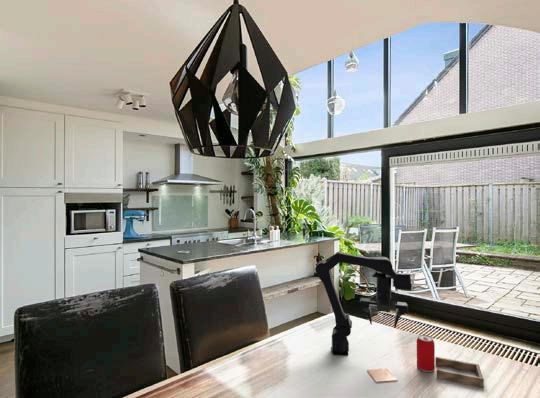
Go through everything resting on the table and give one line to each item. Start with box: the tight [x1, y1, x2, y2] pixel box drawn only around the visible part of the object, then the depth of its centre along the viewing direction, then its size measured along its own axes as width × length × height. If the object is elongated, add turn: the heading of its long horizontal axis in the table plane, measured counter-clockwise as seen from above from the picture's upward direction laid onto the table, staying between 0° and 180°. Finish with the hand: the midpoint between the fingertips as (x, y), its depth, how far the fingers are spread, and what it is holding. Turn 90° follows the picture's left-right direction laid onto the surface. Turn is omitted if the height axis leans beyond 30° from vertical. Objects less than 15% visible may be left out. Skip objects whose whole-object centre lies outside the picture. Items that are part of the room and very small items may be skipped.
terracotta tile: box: [366, 367, 398, 384], centre depth 120 cm, size 8×8×1 cm
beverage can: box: [416, 334, 436, 373], centre depth 125 cm, size 6×6×12 cm
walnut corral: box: [435, 356, 485, 389], centre depth 120 cm, size 14×11×3 cm
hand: (382, 325), depth 134 cm, fingers open, 9 cm apart
